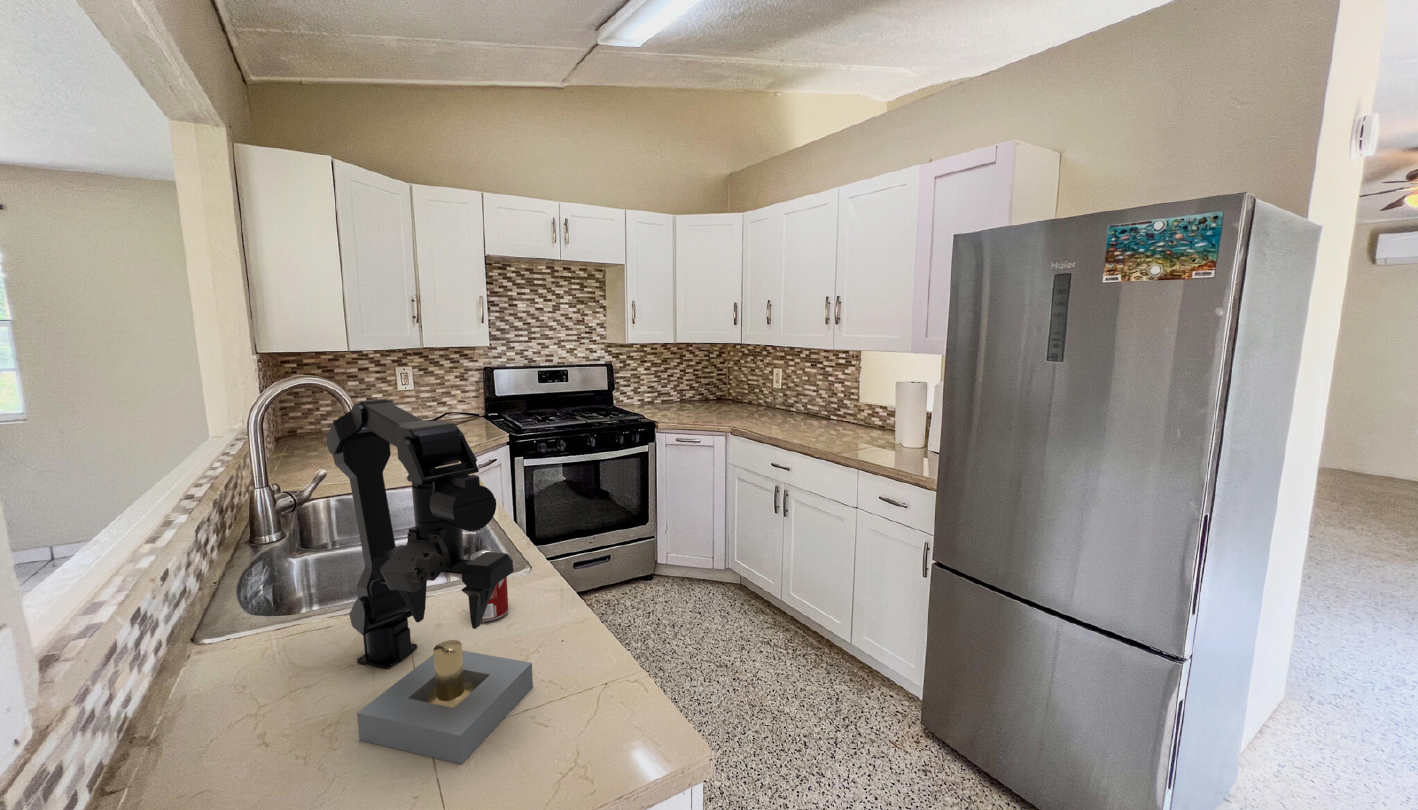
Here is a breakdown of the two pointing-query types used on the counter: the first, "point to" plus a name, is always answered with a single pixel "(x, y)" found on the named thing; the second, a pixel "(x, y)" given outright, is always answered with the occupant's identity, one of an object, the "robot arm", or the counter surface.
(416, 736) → the housing
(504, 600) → the soda can
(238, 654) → the counter surface
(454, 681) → the stepped shaft
